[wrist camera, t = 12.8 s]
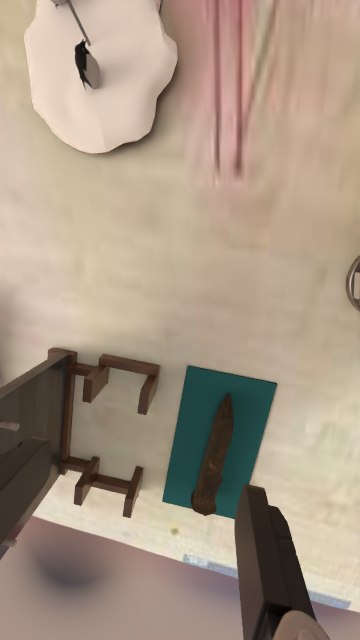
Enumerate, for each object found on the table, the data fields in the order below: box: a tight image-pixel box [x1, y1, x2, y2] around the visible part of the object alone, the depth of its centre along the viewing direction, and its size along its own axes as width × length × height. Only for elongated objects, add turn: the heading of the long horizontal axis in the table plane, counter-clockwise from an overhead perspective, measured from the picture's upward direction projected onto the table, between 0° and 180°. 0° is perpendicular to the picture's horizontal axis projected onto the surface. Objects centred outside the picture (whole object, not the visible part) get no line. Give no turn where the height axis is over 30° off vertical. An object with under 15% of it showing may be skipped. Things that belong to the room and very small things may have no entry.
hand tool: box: [191, 393, 234, 516], centre depth 38 cm, size 19×4×5 cm, turn 167°
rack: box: [0, 348, 159, 560], centre depth 32 cm, size 17×23×20 cm
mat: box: [162, 366, 277, 519], centre depth 41 cm, size 13×25×1 cm, turn 171°
